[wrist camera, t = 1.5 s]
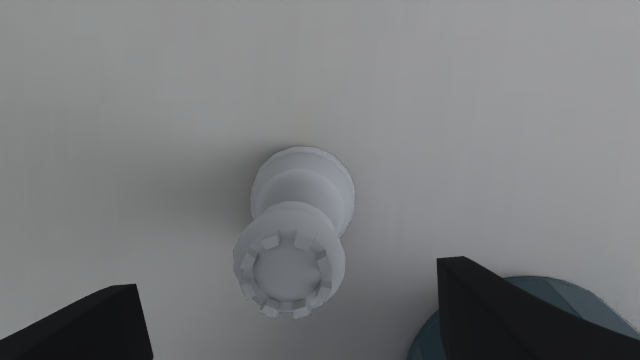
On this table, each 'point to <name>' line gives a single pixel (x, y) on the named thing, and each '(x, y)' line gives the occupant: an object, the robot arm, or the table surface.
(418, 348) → the pot
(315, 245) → the rook chess piece
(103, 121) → the table surface
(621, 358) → the robot arm
